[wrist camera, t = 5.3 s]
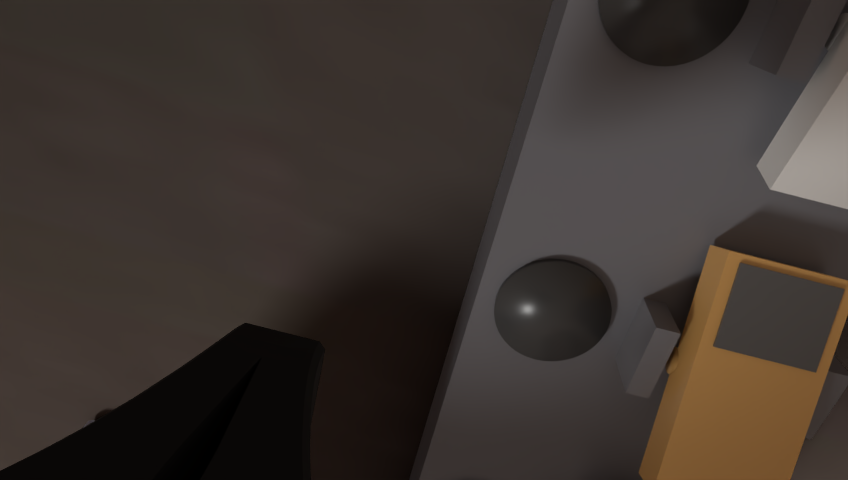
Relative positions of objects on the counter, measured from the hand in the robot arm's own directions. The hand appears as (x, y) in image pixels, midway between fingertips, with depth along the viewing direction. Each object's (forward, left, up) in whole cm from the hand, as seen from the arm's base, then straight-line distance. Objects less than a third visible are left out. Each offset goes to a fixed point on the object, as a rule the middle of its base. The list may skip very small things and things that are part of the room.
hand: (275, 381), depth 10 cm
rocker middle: (-1, -10, -5) cm, 11 cm away
